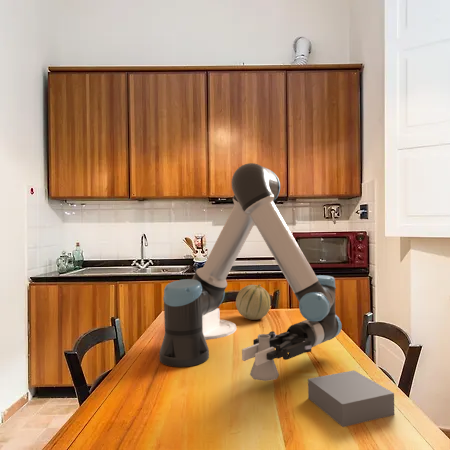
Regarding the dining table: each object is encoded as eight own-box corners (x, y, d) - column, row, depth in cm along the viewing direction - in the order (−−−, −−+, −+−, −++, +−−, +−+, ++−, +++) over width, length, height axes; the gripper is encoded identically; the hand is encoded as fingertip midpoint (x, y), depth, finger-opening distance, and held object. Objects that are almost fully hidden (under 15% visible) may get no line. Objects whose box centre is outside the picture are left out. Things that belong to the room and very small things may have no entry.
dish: (180, 321, 159) (179, 295, 159) (238, 322, 156) (238, 295, 156) (164, 340, 134) (163, 308, 134) (233, 340, 131) (232, 309, 131)
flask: (280, 382, 89) (280, 340, 89) (250, 382, 89) (250, 340, 89) (277, 369, 96) (276, 331, 96) (249, 369, 96) (248, 331, 96)
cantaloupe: (235, 315, 166) (234, 281, 165) (267, 314, 166) (266, 280, 166) (238, 324, 151) (237, 287, 151) (274, 323, 152) (273, 286, 152)
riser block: (343, 428, 75) (342, 404, 75) (308, 400, 87) (307, 378, 87) (394, 416, 79) (394, 393, 79) (354, 390, 91) (354, 370, 91)
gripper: (331, 355, 100) (277, 383, 83) (281, 341, 111) (225, 363, 95) (330, 327, 99) (277, 350, 83) (280, 316, 111) (225, 334, 95)
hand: (249, 357), depth 89 cm, fingers closed on flask, 3 cm apart
